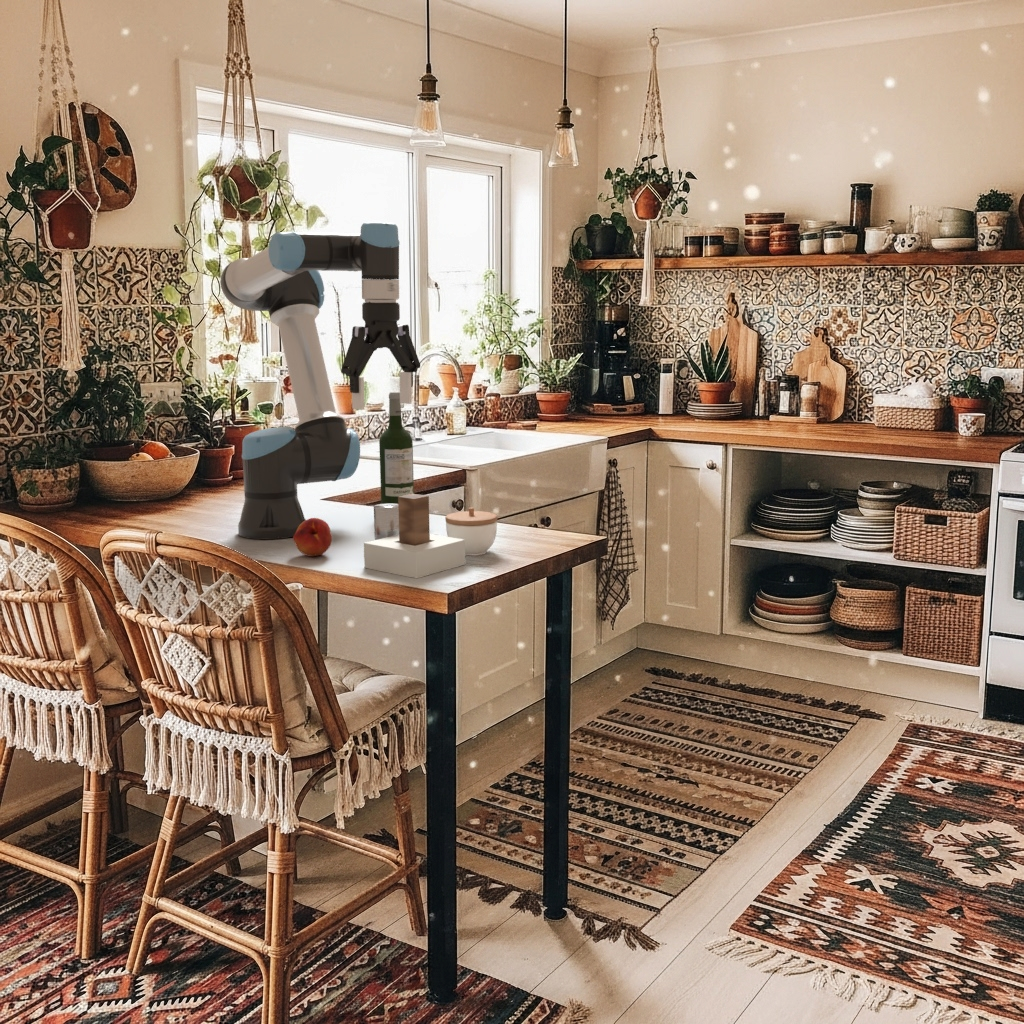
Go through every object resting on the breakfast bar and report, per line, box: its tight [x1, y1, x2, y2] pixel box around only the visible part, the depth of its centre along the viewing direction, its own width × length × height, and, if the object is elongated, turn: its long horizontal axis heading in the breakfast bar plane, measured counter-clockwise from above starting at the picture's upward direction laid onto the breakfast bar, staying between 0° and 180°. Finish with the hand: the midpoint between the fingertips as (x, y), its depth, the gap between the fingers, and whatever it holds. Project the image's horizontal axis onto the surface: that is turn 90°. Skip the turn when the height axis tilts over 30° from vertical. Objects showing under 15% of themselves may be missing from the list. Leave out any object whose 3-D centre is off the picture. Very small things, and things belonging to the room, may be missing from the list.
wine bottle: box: [378, 391, 415, 504], centre depth 270 cm, size 8×8×30 cm
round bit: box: [373, 503, 399, 540], centre depth 234 cm, size 6×6×10 cm
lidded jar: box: [445, 507, 498, 557], centre depth 235 cm, size 11×11×9 cm
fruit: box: [292, 517, 333, 557], centre depth 233 cm, size 8×8×8 cm
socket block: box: [363, 533, 466, 579], centre depth 223 cm, size 14×14×5 cm
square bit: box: [398, 493, 431, 546], centre depth 222 cm, size 4×4×14 cm
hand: (382, 406), depth 233 cm, fingers open, 13 cm apart
